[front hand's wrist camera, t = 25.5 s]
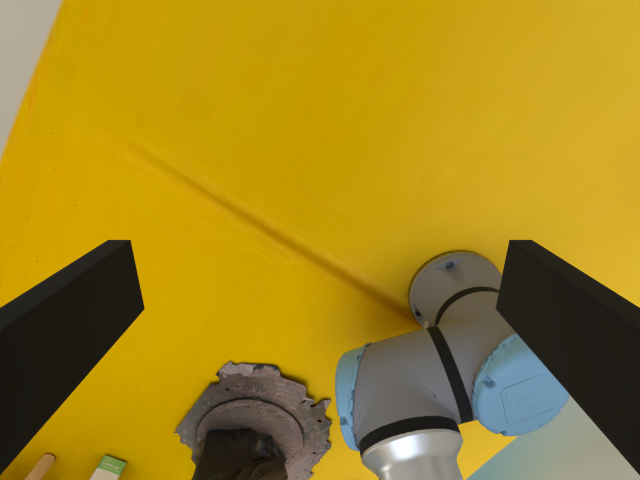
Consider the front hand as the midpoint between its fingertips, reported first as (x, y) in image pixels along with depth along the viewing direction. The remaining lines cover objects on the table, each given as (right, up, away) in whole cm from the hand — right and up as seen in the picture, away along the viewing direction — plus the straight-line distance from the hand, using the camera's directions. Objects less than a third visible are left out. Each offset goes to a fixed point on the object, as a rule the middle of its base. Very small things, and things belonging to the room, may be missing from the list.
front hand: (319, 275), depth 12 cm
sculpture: (-13, -38, +58) cm, 70 cm away
